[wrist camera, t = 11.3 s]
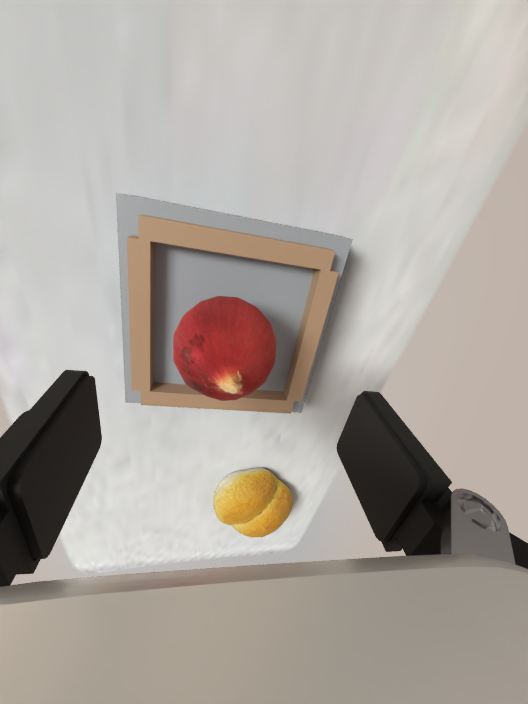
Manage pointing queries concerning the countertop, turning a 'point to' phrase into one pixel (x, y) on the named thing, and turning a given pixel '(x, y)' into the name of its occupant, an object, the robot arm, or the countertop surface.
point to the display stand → (221, 280)
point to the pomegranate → (224, 348)
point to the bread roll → (253, 502)
